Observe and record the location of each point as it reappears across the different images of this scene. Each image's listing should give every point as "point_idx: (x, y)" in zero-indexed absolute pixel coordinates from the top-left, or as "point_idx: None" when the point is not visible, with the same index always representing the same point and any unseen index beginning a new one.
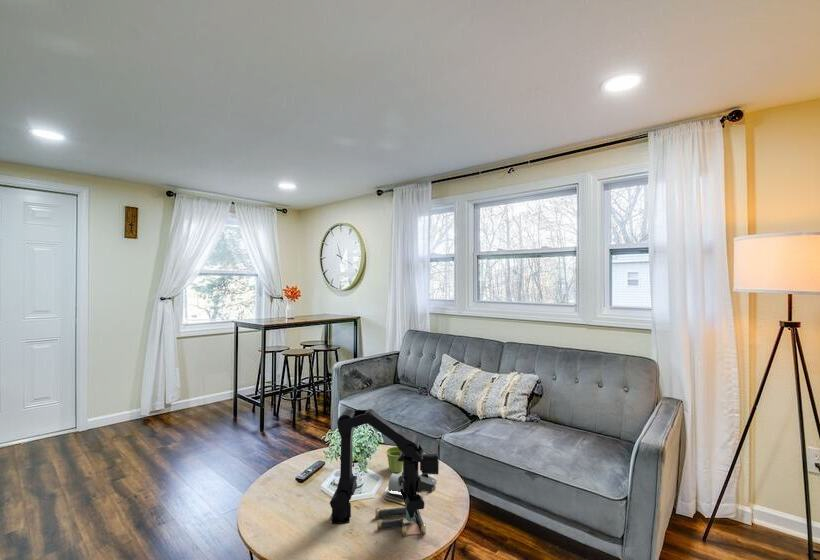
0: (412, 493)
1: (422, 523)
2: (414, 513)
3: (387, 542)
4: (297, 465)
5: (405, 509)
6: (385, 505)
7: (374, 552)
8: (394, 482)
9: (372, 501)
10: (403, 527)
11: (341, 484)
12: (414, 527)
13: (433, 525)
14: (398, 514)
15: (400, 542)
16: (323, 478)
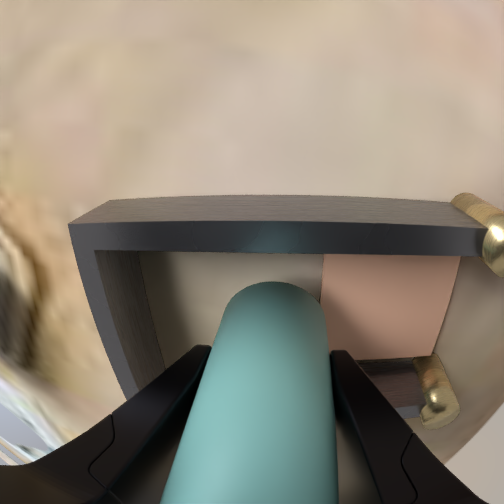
0: None
1: (463, 241)
2: (308, 344)
3: (421, 435)
4: (6, 459)
5: (129, 345)
6: (71, 387)
7: (444, 461)
8: None
9: (61, 417)
10: (441, 422)
11: None
12: (374, 285)
13: (372, 62)
14: (159, 368)
15: (461, 385)
16: (18, 452)
